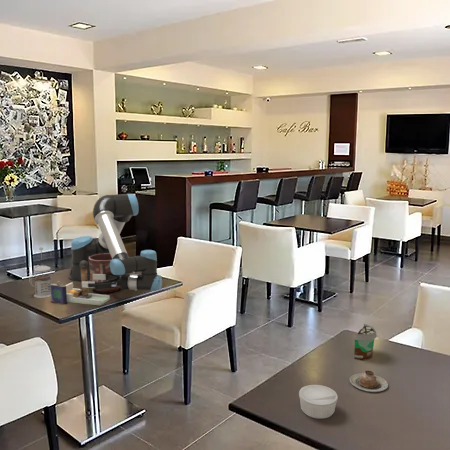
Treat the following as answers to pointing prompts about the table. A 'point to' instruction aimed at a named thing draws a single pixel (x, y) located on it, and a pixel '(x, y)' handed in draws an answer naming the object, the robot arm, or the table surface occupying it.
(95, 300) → the pale green tray
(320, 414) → the ramekin
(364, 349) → the food container
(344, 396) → the table surface
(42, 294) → the french press
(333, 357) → the table surface
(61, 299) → the flask
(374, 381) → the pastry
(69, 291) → the ball
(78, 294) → the kicker
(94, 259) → the pottery
